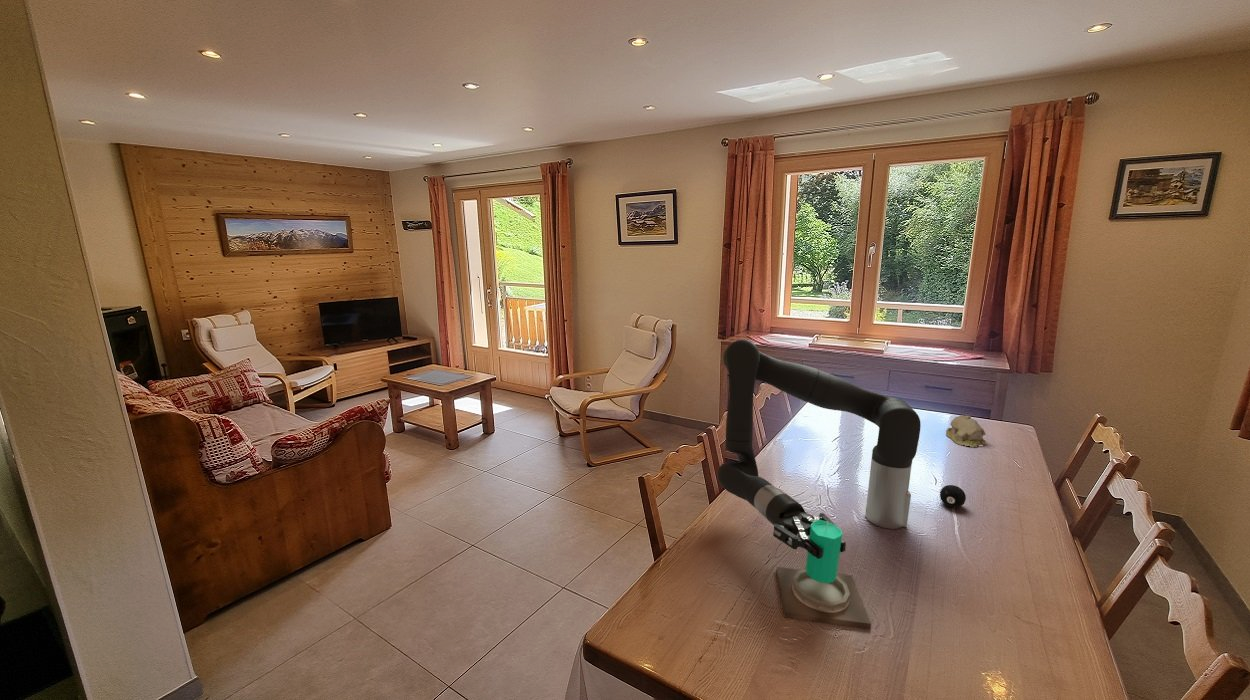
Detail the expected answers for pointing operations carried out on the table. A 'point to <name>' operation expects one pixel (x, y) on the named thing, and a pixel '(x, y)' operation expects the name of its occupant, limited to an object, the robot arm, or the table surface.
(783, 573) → the holder
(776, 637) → the table surface
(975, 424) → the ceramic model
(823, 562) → the candle
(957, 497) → the billiard ball
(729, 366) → the robot arm
